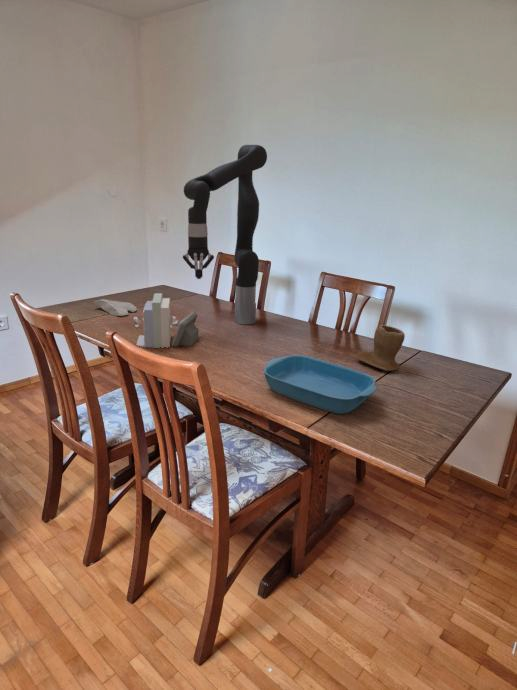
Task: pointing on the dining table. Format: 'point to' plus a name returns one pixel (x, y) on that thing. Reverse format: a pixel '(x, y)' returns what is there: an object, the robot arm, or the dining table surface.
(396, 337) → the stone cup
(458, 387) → the dining table surface
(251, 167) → the robot arm
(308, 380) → the casserole dish
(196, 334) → the digital clock
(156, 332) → the book row
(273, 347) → the dining table surface
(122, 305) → the rock
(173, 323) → the game piece set
